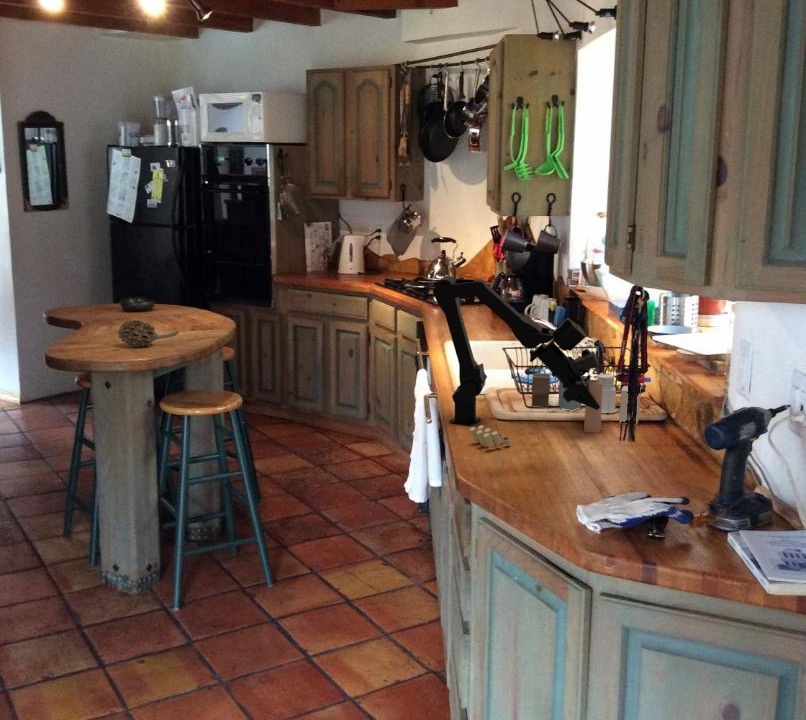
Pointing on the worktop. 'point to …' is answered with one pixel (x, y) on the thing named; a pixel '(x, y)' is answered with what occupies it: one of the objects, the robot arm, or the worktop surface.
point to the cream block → (624, 405)
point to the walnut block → (540, 389)
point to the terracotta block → (590, 413)
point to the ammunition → (488, 436)
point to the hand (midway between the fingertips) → (598, 406)
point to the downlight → (608, 393)
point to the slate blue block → (564, 403)
